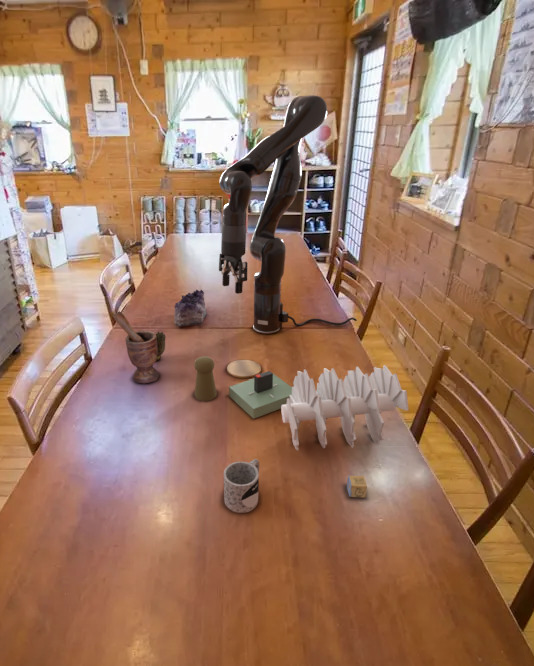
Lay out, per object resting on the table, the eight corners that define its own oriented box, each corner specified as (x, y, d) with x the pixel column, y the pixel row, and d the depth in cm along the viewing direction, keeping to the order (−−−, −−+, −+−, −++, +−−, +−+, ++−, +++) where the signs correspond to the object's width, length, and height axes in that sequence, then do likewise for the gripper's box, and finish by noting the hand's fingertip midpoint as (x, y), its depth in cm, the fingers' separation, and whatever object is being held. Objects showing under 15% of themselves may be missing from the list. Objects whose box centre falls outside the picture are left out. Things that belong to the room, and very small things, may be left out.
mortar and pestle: (117, 386, 127) (108, 321, 119) (122, 370, 135) (113, 308, 127) (159, 384, 128) (152, 319, 119) (161, 369, 136) (155, 307, 127)
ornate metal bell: (169, 354, 144) (167, 331, 141) (164, 365, 138) (162, 341, 134) (146, 353, 145) (144, 330, 142) (140, 364, 138) (137, 341, 135)
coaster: (249, 358, 141) (249, 356, 141) (267, 372, 133) (267, 370, 133) (220, 366, 136) (220, 365, 136) (238, 381, 129) (238, 379, 128)
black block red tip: (269, 385, 121) (269, 369, 119) (272, 388, 120) (273, 372, 118) (254, 390, 119) (254, 374, 117) (257, 393, 117) (257, 377, 115)
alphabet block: (346, 486, 92) (347, 474, 90) (362, 486, 91) (363, 475, 90) (349, 498, 89) (351, 486, 87) (365, 498, 89) (367, 486, 87)
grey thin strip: (247, 518, 85) (247, 491, 82) (217, 503, 88) (216, 477, 85) (271, 484, 92) (272, 459, 90) (243, 472, 96) (243, 447, 93)
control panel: (271, 381, 128) (271, 372, 127) (298, 402, 119) (298, 391, 118) (229, 396, 122) (228, 386, 121) (253, 418, 113) (253, 408, 111)
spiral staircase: (280, 443, 110) (380, 431, 111) (294, 464, 92) (413, 450, 94) (272, 368, 110) (373, 357, 111) (285, 375, 92) (404, 362, 94)
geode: (180, 307, 180) (183, 283, 176) (209, 311, 179) (212, 287, 175) (169, 326, 161) (171, 300, 157) (201, 331, 161) (204, 305, 157)
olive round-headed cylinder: (219, 390, 125) (218, 355, 120) (212, 402, 119) (210, 366, 115) (199, 387, 126) (197, 352, 122) (191, 398, 121) (188, 362, 116)
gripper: (256, 242, 135) (253, 294, 142) (233, 233, 147) (231, 282, 153) (234, 244, 132) (232, 297, 138) (212, 235, 144) (211, 284, 150)
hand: (232, 289), depth 146 cm, fingers open, 8 cm apart
